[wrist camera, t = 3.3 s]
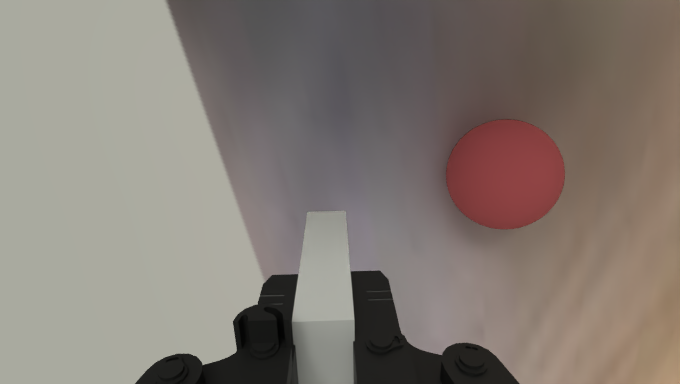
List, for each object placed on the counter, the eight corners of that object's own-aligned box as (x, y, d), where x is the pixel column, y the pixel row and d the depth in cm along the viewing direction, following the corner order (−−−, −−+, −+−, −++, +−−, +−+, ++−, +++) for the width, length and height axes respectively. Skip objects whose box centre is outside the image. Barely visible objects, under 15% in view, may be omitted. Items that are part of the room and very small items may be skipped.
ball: (415, 158, 25) (439, 194, 19) (493, 88, 23) (544, 105, 18) (474, 220, 26) (512, 270, 21) (550, 159, 25) (613, 195, 19)
